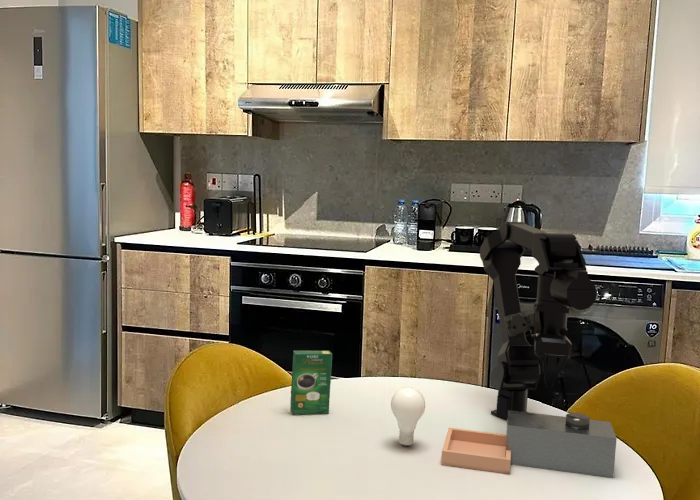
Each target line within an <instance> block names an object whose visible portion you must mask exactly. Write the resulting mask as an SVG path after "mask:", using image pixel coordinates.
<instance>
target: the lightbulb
mask: <svg viewBox="0 0 700 500" xmlns="http://www.w3.org/2000/svg"><path fill="white" fill-rule="evenodd" d="M390 408H391V411H392V414H393V416H394V417H395V419H396V421H397V427H398V429H399V439H398V442H399V444H400V445H402V446H404V447H409V446H411V445H413V444H414V440H415V439H414V438H415V437H414V435H415V430H416V428H417V424H418V422H419V420H420V419H421V418H422V416H423V415H424V413H425V410H426V401H425V397H424V395H423V393H421V391H420V390H418V389H417V388H414V387H410V386H404V387H401V388H399V389H398V390H396V391H395V392H394V394H393V395H392V397H391V400H390Z"/></svg>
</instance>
